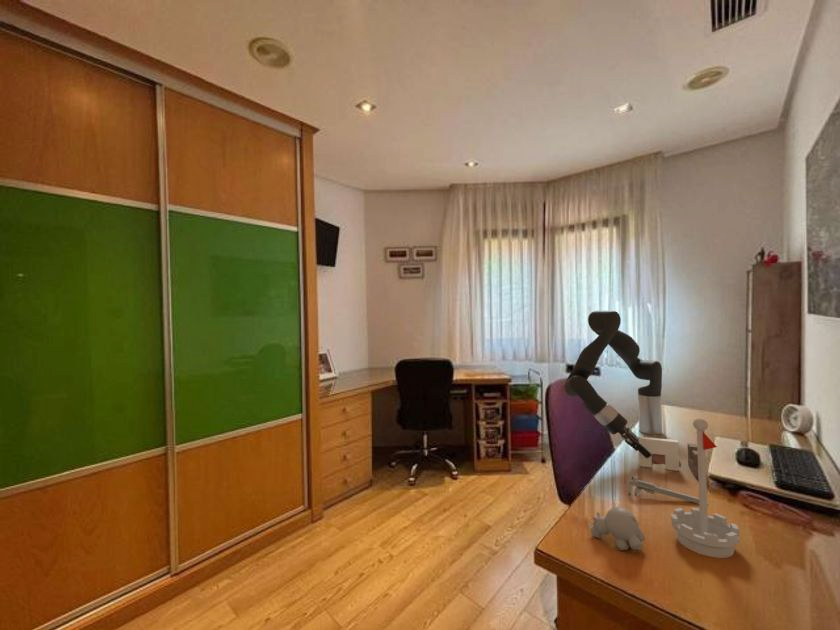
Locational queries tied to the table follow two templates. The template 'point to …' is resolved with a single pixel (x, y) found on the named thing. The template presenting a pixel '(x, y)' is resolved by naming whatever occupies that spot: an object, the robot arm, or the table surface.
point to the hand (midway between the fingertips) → (648, 455)
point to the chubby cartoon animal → (619, 528)
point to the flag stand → (704, 513)
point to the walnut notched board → (693, 459)
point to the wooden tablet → (659, 459)
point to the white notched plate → (660, 451)
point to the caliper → (657, 490)
